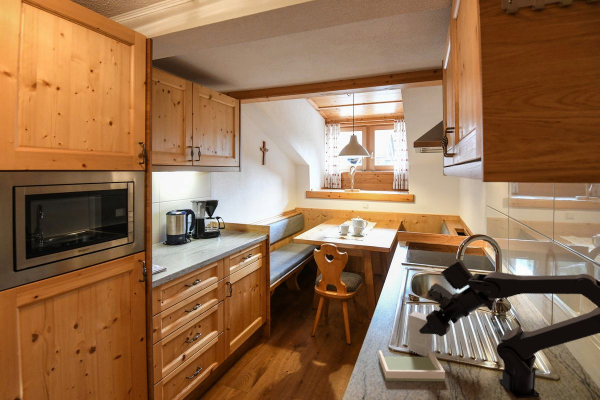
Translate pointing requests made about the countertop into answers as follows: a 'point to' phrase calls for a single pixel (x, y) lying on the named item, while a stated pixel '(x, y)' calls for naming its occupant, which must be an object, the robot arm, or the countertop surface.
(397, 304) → the countertop surface
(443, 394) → the countertop surface
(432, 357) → the pad
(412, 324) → the skincare box
